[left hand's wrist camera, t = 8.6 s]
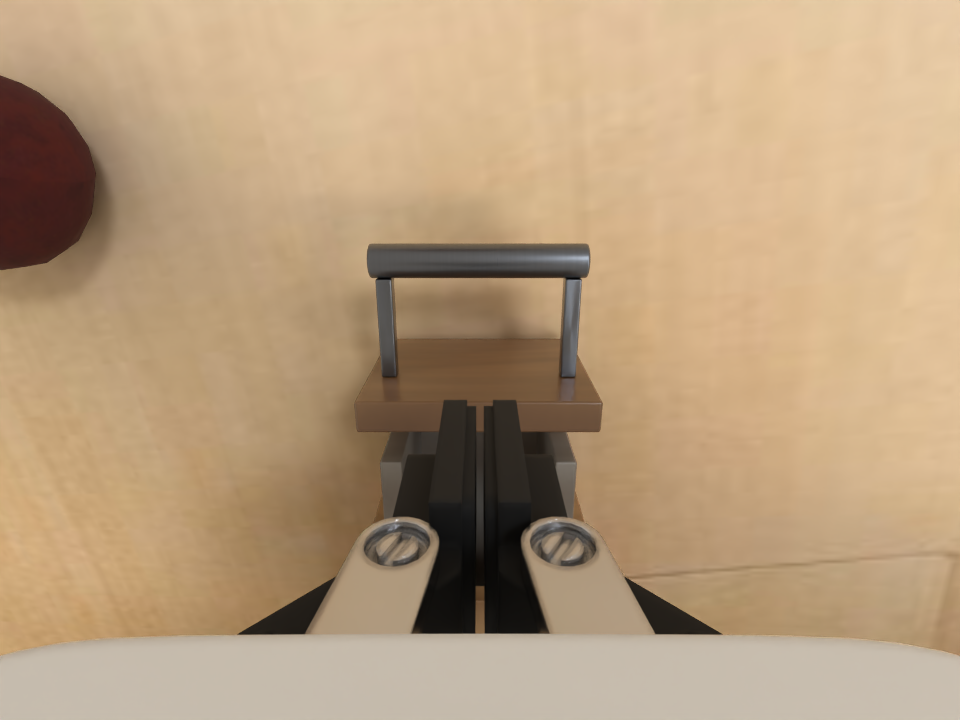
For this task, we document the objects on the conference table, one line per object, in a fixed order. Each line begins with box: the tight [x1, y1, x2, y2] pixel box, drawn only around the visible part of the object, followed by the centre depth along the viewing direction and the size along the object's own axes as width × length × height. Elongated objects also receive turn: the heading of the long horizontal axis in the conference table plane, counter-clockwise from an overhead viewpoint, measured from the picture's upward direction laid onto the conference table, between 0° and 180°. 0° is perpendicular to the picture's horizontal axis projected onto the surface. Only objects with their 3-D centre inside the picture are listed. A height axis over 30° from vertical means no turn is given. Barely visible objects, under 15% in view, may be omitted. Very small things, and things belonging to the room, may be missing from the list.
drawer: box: [354, 244, 603, 586], centre depth 25 cm, size 25×9×8 cm, turn 0°
